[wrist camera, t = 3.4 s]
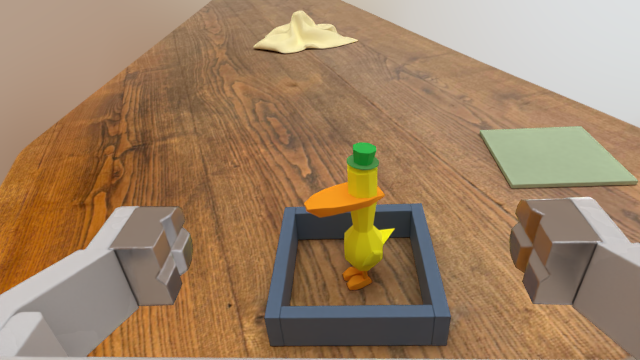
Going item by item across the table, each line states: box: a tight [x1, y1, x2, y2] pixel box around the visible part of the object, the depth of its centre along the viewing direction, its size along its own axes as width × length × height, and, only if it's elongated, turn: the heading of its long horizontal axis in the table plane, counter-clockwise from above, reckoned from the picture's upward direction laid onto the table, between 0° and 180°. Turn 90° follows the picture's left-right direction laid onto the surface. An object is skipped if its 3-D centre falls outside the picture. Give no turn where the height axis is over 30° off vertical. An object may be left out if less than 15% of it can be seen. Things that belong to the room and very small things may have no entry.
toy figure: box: [304, 143, 395, 290], centre depth 31 cm, size 7×4×12 cm, turn 108°
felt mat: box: [480, 126, 638, 188], centre depth 47 cm, size 12×12×1 cm
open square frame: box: [264, 203, 451, 346], centre depth 33 cm, size 12×12×3 cm
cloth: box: [254, 11, 358, 53], centre depth 92 cm, size 22×19×6 cm
